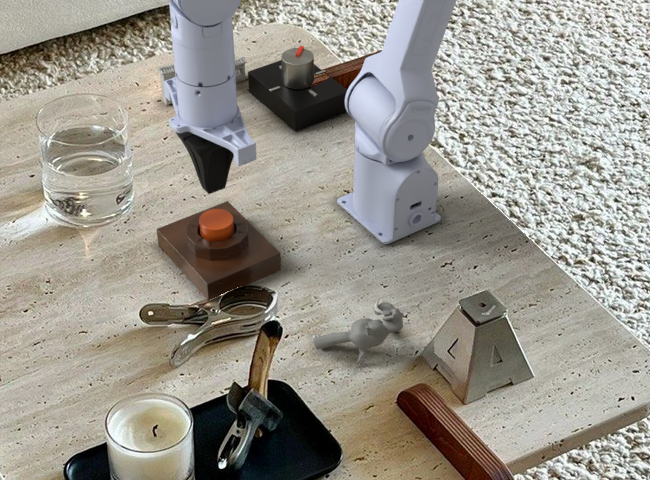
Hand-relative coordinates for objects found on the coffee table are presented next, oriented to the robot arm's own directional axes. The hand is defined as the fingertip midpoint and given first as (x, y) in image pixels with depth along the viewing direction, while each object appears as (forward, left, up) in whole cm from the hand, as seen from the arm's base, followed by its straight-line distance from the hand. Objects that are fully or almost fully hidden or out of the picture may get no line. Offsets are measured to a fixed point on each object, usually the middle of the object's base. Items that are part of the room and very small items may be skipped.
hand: (213, 187), depth 122 cm
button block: (0, 0, -9) cm, 9 cm away
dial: (+21, -24, -6) cm, 33 cm away
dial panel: (+21, -24, -9) cm, 33 cm away
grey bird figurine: (-21, -4, -10) cm, 23 cm away
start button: (0, 0, -6) cm, 6 cm away
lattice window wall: (+30, -15, -10) cm, 35 cm away
